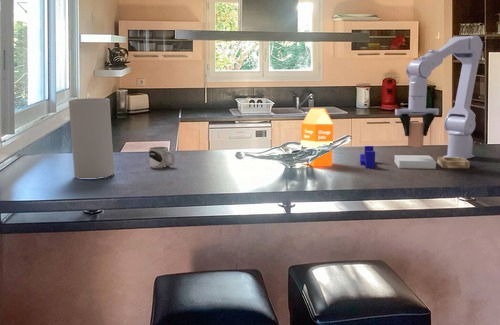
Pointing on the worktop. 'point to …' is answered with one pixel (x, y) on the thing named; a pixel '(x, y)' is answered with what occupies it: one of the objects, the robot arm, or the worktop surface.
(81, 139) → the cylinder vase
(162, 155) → the mug
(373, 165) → the cable clip
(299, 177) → the worktop surface
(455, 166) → the socket
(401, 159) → the platform
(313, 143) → the orange juice
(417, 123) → the block
